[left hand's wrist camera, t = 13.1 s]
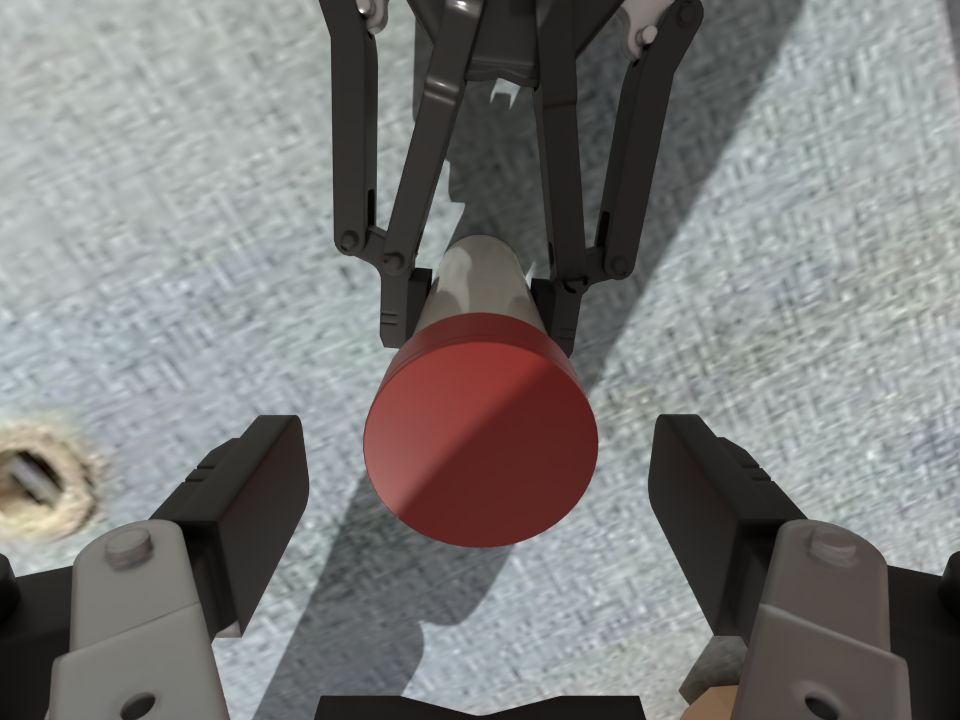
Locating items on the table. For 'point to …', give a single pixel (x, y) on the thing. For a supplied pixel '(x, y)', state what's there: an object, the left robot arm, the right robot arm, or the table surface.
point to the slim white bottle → (479, 284)
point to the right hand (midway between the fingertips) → (469, 416)
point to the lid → (480, 432)
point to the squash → (712, 704)
